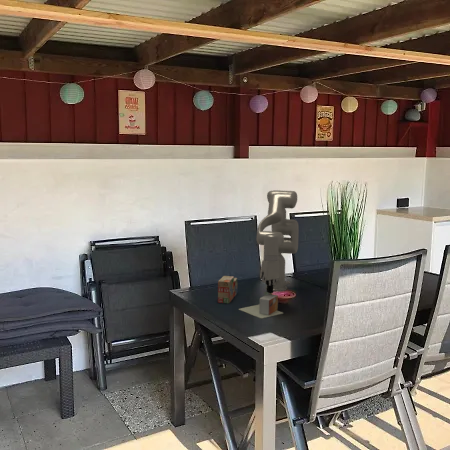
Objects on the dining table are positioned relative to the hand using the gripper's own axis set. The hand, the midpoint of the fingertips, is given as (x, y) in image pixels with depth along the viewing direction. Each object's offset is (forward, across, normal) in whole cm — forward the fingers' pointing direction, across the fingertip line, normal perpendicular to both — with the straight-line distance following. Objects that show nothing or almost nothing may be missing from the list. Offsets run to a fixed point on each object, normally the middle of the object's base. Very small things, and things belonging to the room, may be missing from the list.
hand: (269, 292), depth 261 cm
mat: (+9, +6, 0) cm, 11 cm away
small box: (+5, -2, +1) cm, 5 cm away
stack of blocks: (+10, +4, -30) cm, 31 cm away
